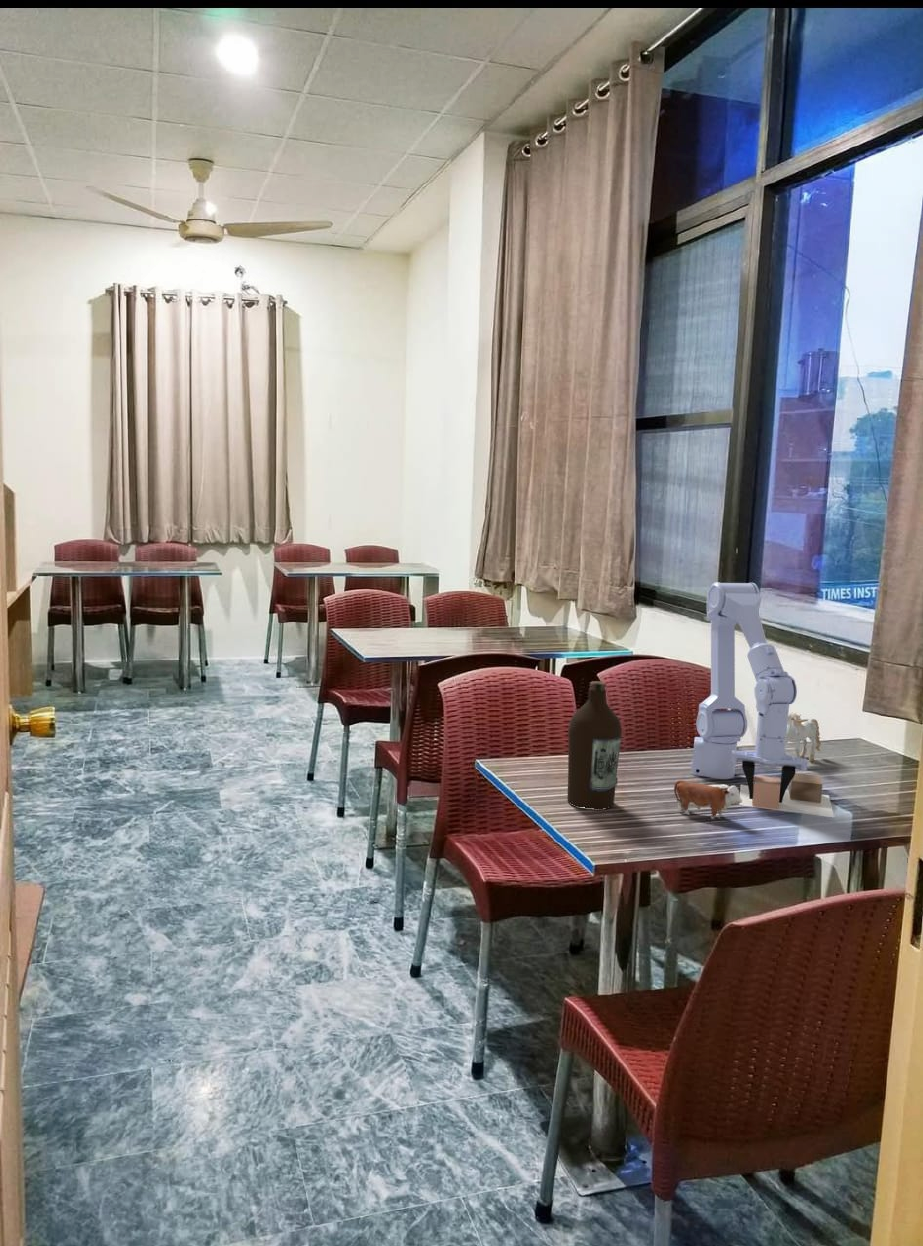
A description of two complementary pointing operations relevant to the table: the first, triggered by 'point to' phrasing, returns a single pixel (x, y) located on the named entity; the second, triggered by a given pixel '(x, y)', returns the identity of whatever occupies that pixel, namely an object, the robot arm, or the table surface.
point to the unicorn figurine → (803, 734)
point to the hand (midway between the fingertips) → (765, 799)
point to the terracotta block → (766, 792)
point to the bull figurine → (706, 796)
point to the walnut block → (806, 788)
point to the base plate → (793, 804)
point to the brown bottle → (593, 752)
